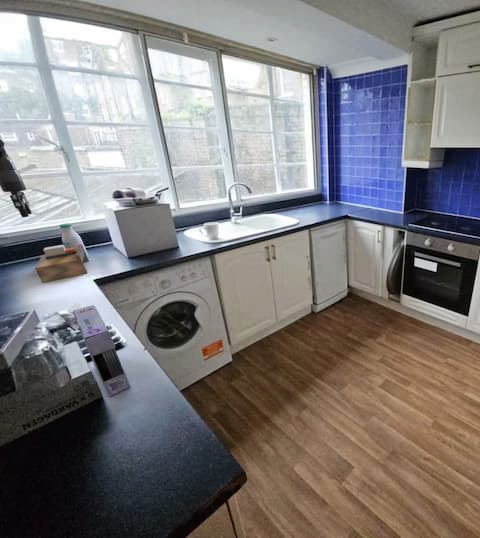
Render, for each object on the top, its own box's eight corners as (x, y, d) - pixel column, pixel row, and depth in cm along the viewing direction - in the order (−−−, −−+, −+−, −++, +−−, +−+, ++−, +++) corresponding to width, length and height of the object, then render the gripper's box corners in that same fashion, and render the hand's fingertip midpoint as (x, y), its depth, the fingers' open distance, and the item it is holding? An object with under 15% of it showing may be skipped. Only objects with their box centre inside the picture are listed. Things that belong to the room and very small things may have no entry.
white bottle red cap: (46, 259, 143) (41, 250, 141) (47, 256, 147) (43, 248, 145) (76, 253, 150) (72, 245, 148) (76, 251, 153) (72, 243, 151)
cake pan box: (134, 388, 74) (108, 329, 67) (109, 400, 70) (79, 340, 63) (117, 355, 86) (93, 303, 79) (95, 365, 82) (68, 310, 75)
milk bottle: (89, 255, 170) (74, 221, 162) (88, 258, 164) (74, 224, 156) (71, 258, 165) (55, 224, 157) (70, 262, 160) (54, 226, 152)
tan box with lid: (42, 283, 136) (32, 264, 132) (49, 268, 153) (40, 251, 149) (87, 273, 145) (79, 255, 141) (89, 260, 162) (82, 244, 158)
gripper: (1, 180, 137) (19, 214, 143) (-7, 182, 126) (12, 219, 133) (24, 178, 141) (40, 212, 147) (18, 180, 131) (35, 216, 137)
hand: (27, 215), depth 140 cm, fingers open, 8 cm apart
